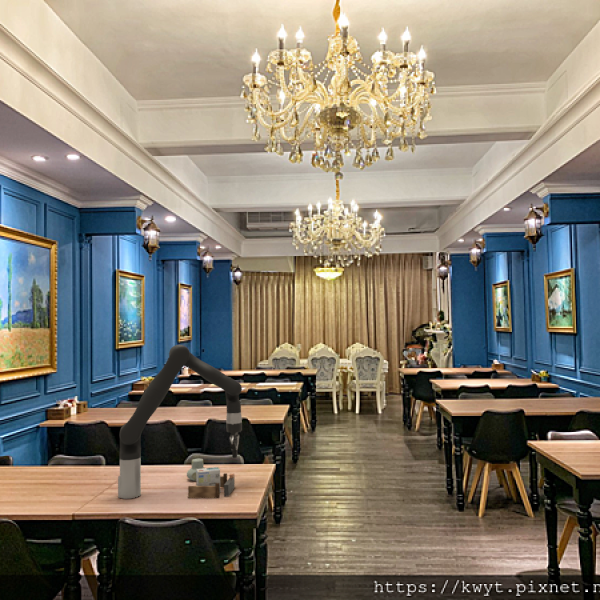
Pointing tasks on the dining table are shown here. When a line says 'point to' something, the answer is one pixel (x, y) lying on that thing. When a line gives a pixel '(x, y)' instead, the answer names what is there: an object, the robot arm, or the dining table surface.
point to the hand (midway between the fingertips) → (234, 457)
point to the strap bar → (229, 485)
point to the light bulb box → (208, 477)
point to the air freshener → (194, 468)
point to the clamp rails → (207, 489)
